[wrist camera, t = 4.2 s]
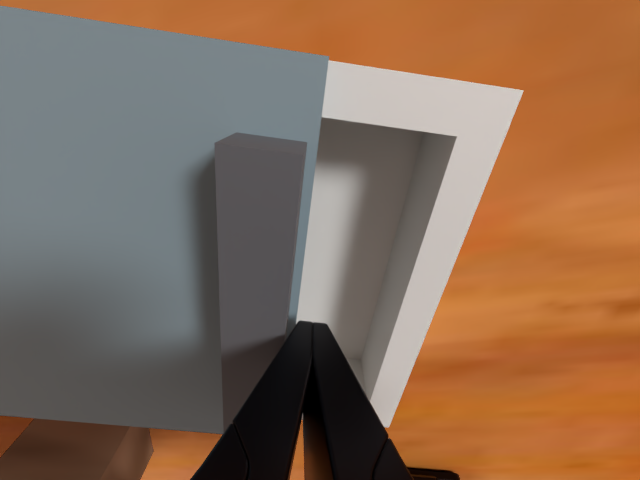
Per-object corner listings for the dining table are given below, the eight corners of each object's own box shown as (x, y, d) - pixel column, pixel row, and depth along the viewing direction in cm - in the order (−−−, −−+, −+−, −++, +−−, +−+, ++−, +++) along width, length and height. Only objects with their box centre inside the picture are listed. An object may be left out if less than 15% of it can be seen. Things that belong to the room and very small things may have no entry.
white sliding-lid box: (377, 369, 16) (389, 427, 13) (-211, 312, 14) (-336, 364, 11) (467, 90, 10) (523, 90, 7) (-546, -64, 8) (-979, -140, 5)
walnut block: (154, 449, 19) (104, 556, 15) (76, 443, 19) (2, 550, 15) (143, 402, 17) (81, 510, 13) (55, 394, 17) (-40, 502, 12)
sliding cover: (283, 419, 13) (276, 483, 11) (-83, 387, 12) (-167, 449, 10) (328, 59, 7) (330, 45, 5) (-415, -54, 6) (-817, -134, 4)
